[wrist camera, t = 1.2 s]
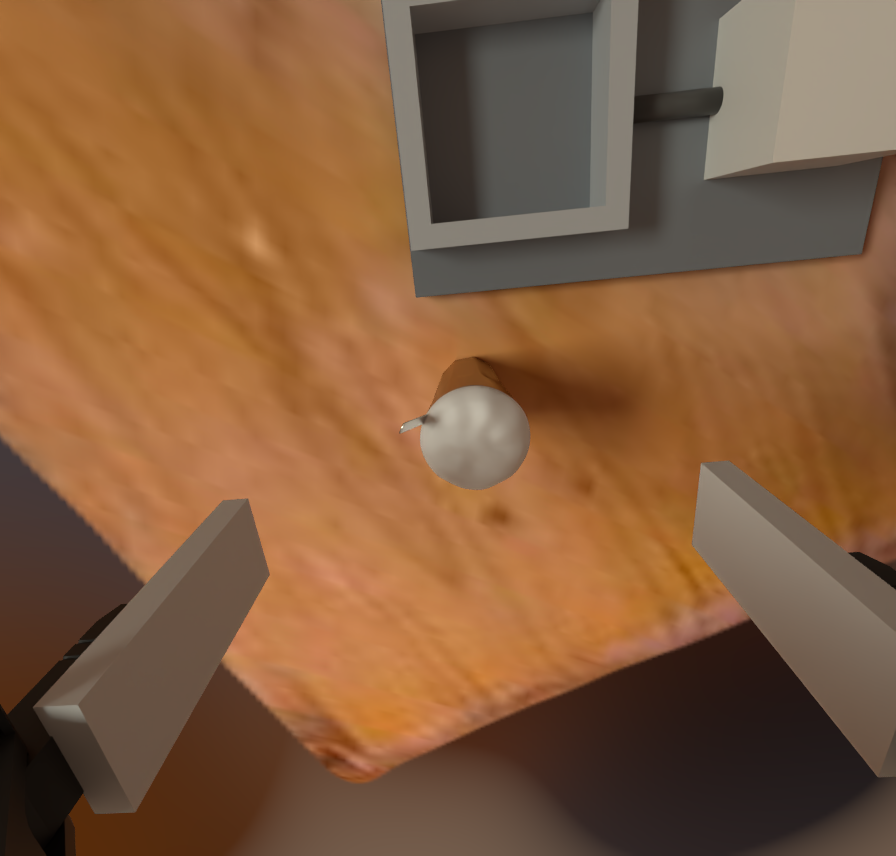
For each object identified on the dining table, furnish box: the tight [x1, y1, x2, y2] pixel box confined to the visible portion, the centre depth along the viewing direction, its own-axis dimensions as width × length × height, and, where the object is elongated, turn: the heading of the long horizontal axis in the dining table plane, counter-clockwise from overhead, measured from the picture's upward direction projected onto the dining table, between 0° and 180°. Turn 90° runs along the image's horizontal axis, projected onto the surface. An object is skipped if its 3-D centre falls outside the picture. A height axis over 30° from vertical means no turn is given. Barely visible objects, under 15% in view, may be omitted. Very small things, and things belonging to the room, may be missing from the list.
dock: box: [381, 0, 896, 297], centre depth 19 cm, size 14×22×6 cm, turn 95°
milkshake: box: [399, 357, 530, 490], centre depth 22 cm, size 4×5×10 cm
